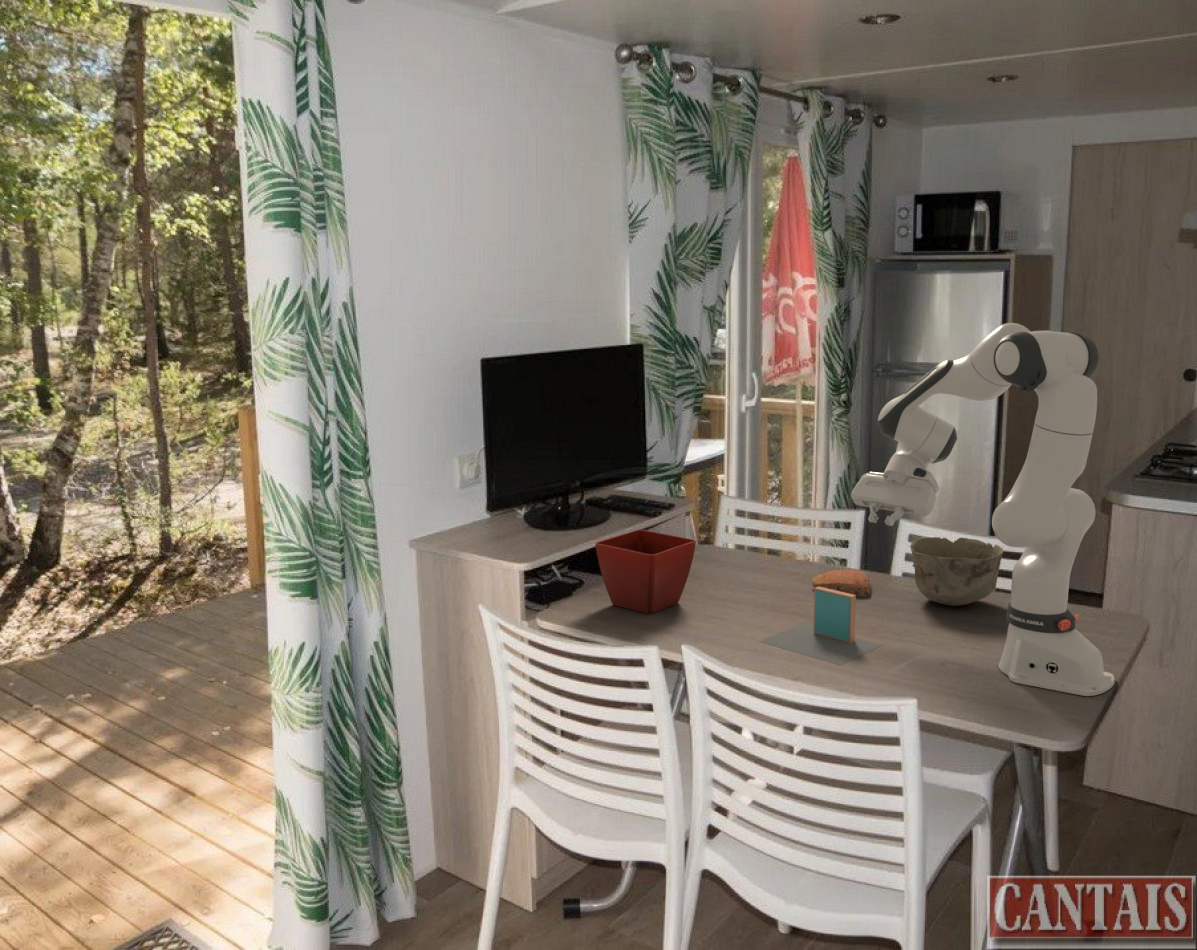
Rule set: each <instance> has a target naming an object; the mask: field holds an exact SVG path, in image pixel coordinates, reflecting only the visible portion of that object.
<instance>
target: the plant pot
mask: <svg viewBox="0 0 1197 950" xmlns="http://www.w3.org/2000/svg"><path fill="white" fill-rule="evenodd" d="M696 543H697V541H696V539H691V538H687V537H682V536H677V535H676V536H675V535H671V534H665V533H661V532H656V531H651V530H647V529H646V530H645V529H635V530H632V531H630V532H626V533H623V534H619V535H617V536H616V535H615V536H613V537H609V538H606V539H602V540H600V541H599V540H598V541H596V542H595V545H594V546H595V551H596V556H597V562H598V566H599V570H600V573H601V577H602V580H603V583H604V587H605V589H606V592H607V594H608V597H609V600H610V601H611V604H612V605H613V606H617V607H620V608H625V609H627V610H631V611H635V612H639V613H644V614H646V615H647V614H648V615H651V614H654V613H656V612H660V611H661V609H662V610H664V609H666V607H667V608H668V606H669V607H671V605H672V606H674V605H677V604H678V603H679V602H680V600H681V597H682V595H683V592H684V589H685V587H686V584H687V582H688V578H689V575H690V572H691V567H692V564H693V559H694V555H695V550H696ZM676 603H677V604H676ZM673 604H674V605H673Z"/></svg>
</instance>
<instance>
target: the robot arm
mask: <svg viewBox="0 0 1197 950" xmlns="http://www.w3.org/2000/svg"><path fill="white" fill-rule="evenodd" d="M1098 364H1099V350H1098V347H1097V345H1096V342H1095V341H1094V340H1093V339H1092V338H1091V337H1089V336H1087V335H1085V334H1083V333H1082V334H1081V333H1078V332H1072V331H1071V332H1069V331H1067V332H1062V331H1054V330H1033V331H1031V330H1030V329H1029V328H1027V327H1026V326H1025V325H1022V324H1019V323H1017V322H1016V323H1015V322H1007V323H1003V324H1000V326H998V327H997V328H995V329H994V330H993V331H992V332H990V333H989V334H988V335H987V336H986V337H984V338H983V339H982V340H981V341H980V342H979V343H978V345H976V347H975V348H973V350H972V351H971V352H970V353H969V354H967V355H966V356H963V357H961V358H958V359H953V360H952V359H947V360H944V361H941V362H940V363H939V364H937V365H936V366H934V367H933V368H931V369H930V370H929V371H928V372H927V373H925V374H924V375H922V377H920V378H918V380H917V381H916V382H914V383H913V384H912V385H910V386H909V387H908V388H907V389H905V390H904V391H903V392H902V393H900V394H898V395H897V396H895V397H893V398H892V399H891V400H890V401H888V402H887V403H886V404H884V406H883V407H882V409H881V410H880V413H879V414H878V417H877V420H876V421H877V425H878V428H879V431H880V433H881V434H882V435H883V436H884V437H887V438H889V439H891V440H893V441H894V440H895V441H896V442H898V443H897V445H896V451H895V453H893V455H892V456H891V457H890V459H889V461H888V463H887V465H886V466H885V467H886V468H885V470H884V471H883V472H875V471H869V472H866V473H864V474H863V475H861V477H860V479H859V480H858V481H857V482H856V485H855V486H854V488H853V489H852V491H851V493H850V497H851V500H852V501H853V503H854V504H855V505H856V506H860V507H866V508H869V511H870V514H869V516H868V517H867V519H868V522H869V523H872V524H873V523H874V524H876V523H877V522H878V520H879V516H878V514H877V513H876V512H879V510H886V511H891V512H893V513H892V514H891V515H887V516H886V517H885V520H884V524H885V525H886V526H890V527H893V526H894V523H895V522H896V521H898V520H899V519H900V518H902V517H903V516H904V514H909V515H916V516H922V517H927V516H929V515H930V514H931V513H932V511H933V509H934V507H935V504H936V501H937V493H938V492H939V490H940V487H939V484H938V482H937V480H936V478H935V476H934V475H933V473H932V472H931V471H930V470H927V467H928V465H929V464H932V465H933V464H937V463H940V462H944V461H945V460H947V459H948V457H949V456H950V454H951V453H952V450H953V449H954V446H955V444H956V443H957V441H958V434H957V430H956V427H955V426H953V425H952V424H951V423H949V422H948V421H946V420H945V419H943V418H941V417H939V416H937V415H936V414H934V413H932V412H930V411H928V410H927V409H925V408H923V407H921V405H922V404H923V403H924V402H926V401H927V400H928V399H930V397H932V396H934V395H937V394H940V395H941V394H942V395H943V394H946V395H952V396H956V397H960V398H964V399H967V400H971V401H976V402H977V401H978V402H984V401H985V402H986V401H991V400H995V399H998V397H1000V396H1001V395H1002V394H1004V393H1005V392H1006V391H1007V390H1008V389H1009V388H1010V387H1011V386H1012V385H1013V386H1016V388H1018V389H1019V390H1020V391H1022V392H1023V393H1030V392H1032V391H1034V392H1035V393H1036V395H1037V398H1038V405H1037V411H1036V415H1035V419H1034V424H1033V429H1032V433H1031V437H1030V438H1031V439H1030V442H1029V446H1028V451H1027V455H1026V458H1025V461H1024V464H1023V465H1022V468H1021V471H1020V472H1019V474H1018V477H1017V478H1016V480H1015V482H1014V484H1013V486H1012V488H1011V489H1010V492H1009V493H1008V494H1007V496H1006V497H1005V499H1003V501H1002V502H1001V503H999V505H998V506H996V508H995V509H994V511H993V514H992V518H991V525H992V530H993V532H994V535H995V537H996V538H997V539H998V540H999V541H1000V542H1001V544H1004V545H1005V546H1007V547H1011V548H1019V549H1024V550H1023V552H1022V554H1021V556H1020V558H1019V559H1018V560H1017V561H1016V563H1015V564H1014V566H1013V569H1012V572H1011V587H1010V589H1011V590H1010V591H1011V592H1010V602H1009V603H1008V605H1007V614H1006V628H1007V633H1006V639H1005V645H1004V647H1003V652H1002V656H1000V657H1001V658H1000V661H999V663H998V669H999V670H1000V671H1001V672H1002V673H1003V674H1005V675H1006V676H1008V679H1009V681H1011V682H1013V683H1016V684H1020V685H1026V686H1030V687H1037V688H1042V689H1046V690H1051V691H1056V692H1061V693H1062V692H1063V693H1068V694H1073V695H1077V696H1084V697H1091V696H1092V697H1093V696H1097V695H1101V694H1103V693H1106V692H1107V691H1108V690H1110V689H1112V688H1113V686H1115V675H1113V673H1111V672H1108V671H1104V660H1103V656H1102V652H1101V650H1100V649H1098V648H1097V647H1096V646H1095V645H1094V644H1093V643H1091V641H1090V640H1089V639H1087V638H1086V637H1085V636H1084V635H1083V634H1082V633H1081V632H1080V631H1078V630H1077V629H1076V622H1077V621H1078V620H1079V615H1080V614H1079V613H1077V614H1074V615H1073V613H1071V611H1070V610H1069V608H1068V600H1069V587H1070V579H1071V574H1072V573H1071V572H1072V568H1073V565H1074V562H1075V559H1076V556H1077V554H1078V551H1079V548H1080V544H1081V543H1082V540H1083V538H1084V536H1085V534H1086V533H1087V532H1088V530H1089V529H1090V528H1091V526H1092V525H1093V524H1094V522H1095V518H1096V513H1097V512H1096V507H1095V503H1094V502H1093V499H1092V497H1090V495H1089V494H1088V493H1086V492H1085V491H1083V490H1082V489H1078V488H1073V487H1072V486H1073V485H1074V483H1075V481H1076V480H1077V479H1078V478H1079V477H1080V476H1081V475H1082V474H1083V472H1084V470H1085V469H1086V466H1087V460H1088V456H1089V453H1090V448H1091V443H1092V439H1093V436H1094V435H1093V434H1094V428H1095V425H1096V424H1095V423H1096V420H1097V419H1096V418H1097V411H1098V410H1097V409H1098V407H1097V406H1098V388H1097V385H1096V383H1095V382H1094V380H1093V379H1091V378H1090V377H1091V376H1092V375H1093V374H1094V372H1095V371H1096V369H1097V367H1098Z"/></svg>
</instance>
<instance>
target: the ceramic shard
mask: <svg viewBox="0 0 1197 950" xmlns="http://www.w3.org/2000/svg"><path fill="white" fill-rule="evenodd" d="M812 587H814V589H815V588H816V587H823V588H827V589H832V590H836V591H840V592H845V593H849V594H853V595H856V597H857V596H858V597H863V598H868V597H869V596H870V593H871V581H870V577H869V576H868V575H867V574H866V573H865V572H863V571H860V570H857V569H835V570H834V569H833V570H830V571H826V572H823V573H820V574H818V575H815V576H814V577H813V578H812Z"/></svg>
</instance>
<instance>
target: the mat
mask: <svg viewBox="0 0 1197 950" xmlns="http://www.w3.org/2000/svg"><path fill="white" fill-rule="evenodd" d="M758 642H760V643H763V644H766V645H769V646H773V647H777V648H780V649H782V650H783V649H784V650H787V651H790V652H793V653H797V654H800V655H804V656H808V657H811V658H815V659H818V660H821V661H825V662H828V663H832V664H836V665H838V666H839V665H840V666H842V665H845V664H846V663H849V662H850V661H852V660H855V659H857V658H859V657H861V656H863V655H865V654H867V653H870V652H871V651H873V650H875V649H878V648H880V647H882V646H883V644H879V643H876V642H872V641H869V640H864V639H861V638H857V637H855V641H854V642H852V643H849V642H845V641H841V640H837V639H834V638H830V637H826V636H823V635H819V634H815V633H814V626H812V625H808V624H806V623H805V624H804V623H799V624H798V625H794V626H793V627H790V628H787V629H785V630H783V631H780V632H778V633H776V634H773V635H770V636H768V637H766V638H764V639H761V640H758Z"/></svg>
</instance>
